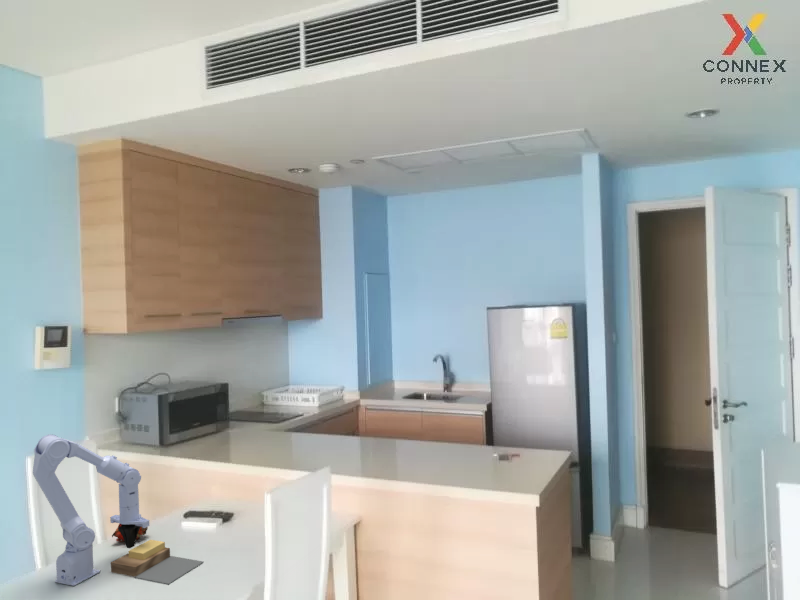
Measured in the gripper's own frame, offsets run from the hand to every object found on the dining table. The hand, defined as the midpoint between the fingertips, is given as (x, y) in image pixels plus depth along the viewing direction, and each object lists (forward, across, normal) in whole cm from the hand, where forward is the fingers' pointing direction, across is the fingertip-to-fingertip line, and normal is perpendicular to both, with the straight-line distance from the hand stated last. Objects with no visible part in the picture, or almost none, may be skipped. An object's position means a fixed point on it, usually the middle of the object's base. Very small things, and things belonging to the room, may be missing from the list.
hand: (130, 546), depth 192 cm
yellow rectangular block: (+1, -7, 0) cm, 7 cm away
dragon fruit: (+4, +12, -11) cm, 17 cm away
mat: (+4, -18, +2) cm, 18 cm away
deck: (+4, -6, +2) cm, 8 cm away
